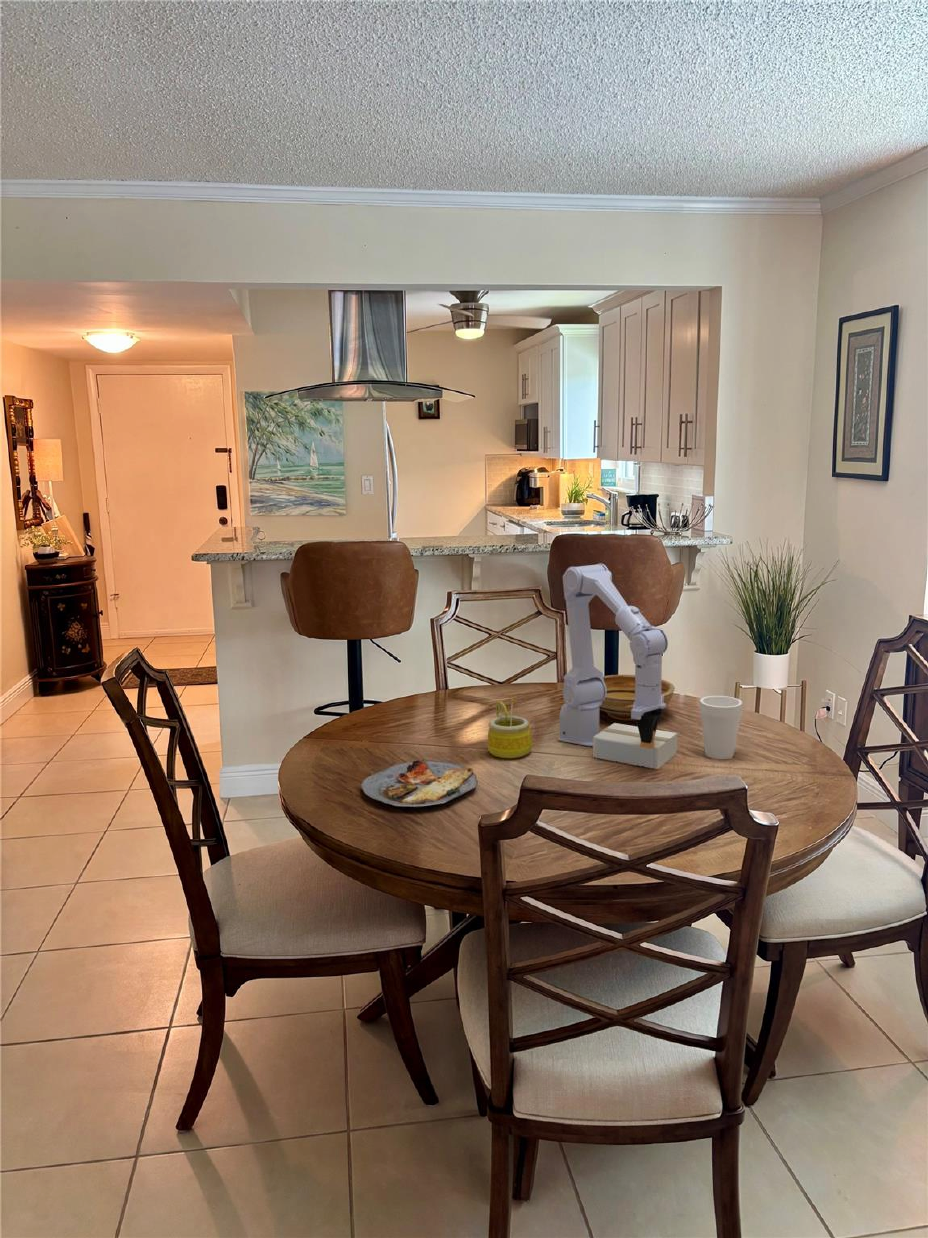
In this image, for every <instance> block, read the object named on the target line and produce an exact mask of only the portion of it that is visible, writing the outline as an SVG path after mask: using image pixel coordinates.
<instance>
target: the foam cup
mask: <svg viewBox="0 0 928 1238" xmlns="http://www.w3.org/2000/svg"><path fill="white" fill-rule="evenodd" d="M699 711H700V717H701V726H702V727H701V729H702V734H703V743H704V744H703V745H704V751H705V753H704V754H705V756H706V757H709V758H711V759H715V760H730V759H732V758H733V757H734V754H735V748H736V744H737V738H738V734H739V733H738V732H739V725H740V721H741V715H742V713H743V701H742V700H741V699H739V698H737V697H731V696H727V695H708V696H704V697H701V698H700V699H699Z"/></svg>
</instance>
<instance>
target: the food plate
mask: <svg viewBox="0 0 928 1238" xmlns="http://www.w3.org/2000/svg"><path fill="white" fill-rule="evenodd" d="M478 783H479V781H478V780H477V774H476V773H475V772H474V769H473V768H470V767H465V766H462V765H459V764H458V763H455V762H449V761H442V760H438V761H437V760H436V761H435V760H425V759H423V758H422V759H421V760H413V761H412V762H405V763H401V764H394V765H392V766H389V767H386V768H385V769H383V770H379V771H377V772H375V773H374V774H371V775H368V776H367V777H366V778H364V780H362V782H361V790H362V791H363V793H364V794H365V795H367V797H369V798H371V799H373V800H376V801H377V802H379V801H380V802H382V804H389V805H392V806H395V807H411V808H412V807H414V808H416V809H417V808H421V807H427V806H434V805H441V804H445V803H447V802H449V801H451V800H453V799H455V798H458V797H460V796H462V795H464V794H466V793H468V792H469V791H471V790H473V789H475V788H476V787H477V786H478ZM391 786H393V787H391ZM387 787H388V790H387ZM384 791H386V796H388V798H387V797H385V796H384V795H385V793H384ZM403 798H404V799H403ZM400 799H402V800H401V802H400V801H397V800H400Z"/></svg>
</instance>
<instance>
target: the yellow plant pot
mask: <svg viewBox="0 0 928 1238" xmlns="http://www.w3.org/2000/svg"><path fill="white" fill-rule="evenodd" d="M514 701H515V699H513V698H511V699H510V702H511V705H510V708H511V709H510V715H508V710H507V706H506V705H505V704H504V703H503V702H502V701H500V702H497V703H496V707H495V713H496V717H495V718H493V719H491V720H490V721H489V722H488V733H487V741H486V748H487V750H488V752H489V753H490V754H491V755H492V756H494V757H498V758H501V759H516V758H521V757H524V756H527V755H528V754H529V753H530V752H531V750H532V748H533V745H534V744H533V735H532V732H531V729H530V721H528V720H527V718H523V717H520V716H516V715H513V703H514ZM499 713H500V714H499Z"/></svg>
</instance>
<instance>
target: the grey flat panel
mask: <svg viewBox="0 0 928 1238" xmlns="http://www.w3.org/2000/svg"><path fill="white" fill-rule="evenodd" d="M654 738H655V731H653V737H652V741H651V743H644V742H641V740H640V746H639V745H633V744H627V743H622V742H616V741H610V740H604V739H599V738H597V739H596V758H595V759H600V758H601V760H605V759H607V760H606V761H610V760H612V762H616V761H617V763H621V762H623V763H622V764H626V763H628V764H627V765H632V764H633V765H634V766H637V765H639V766H638V767H642V766H644V768H648V767H649V769H653V768H654ZM633 765H632V766H633Z"/></svg>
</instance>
